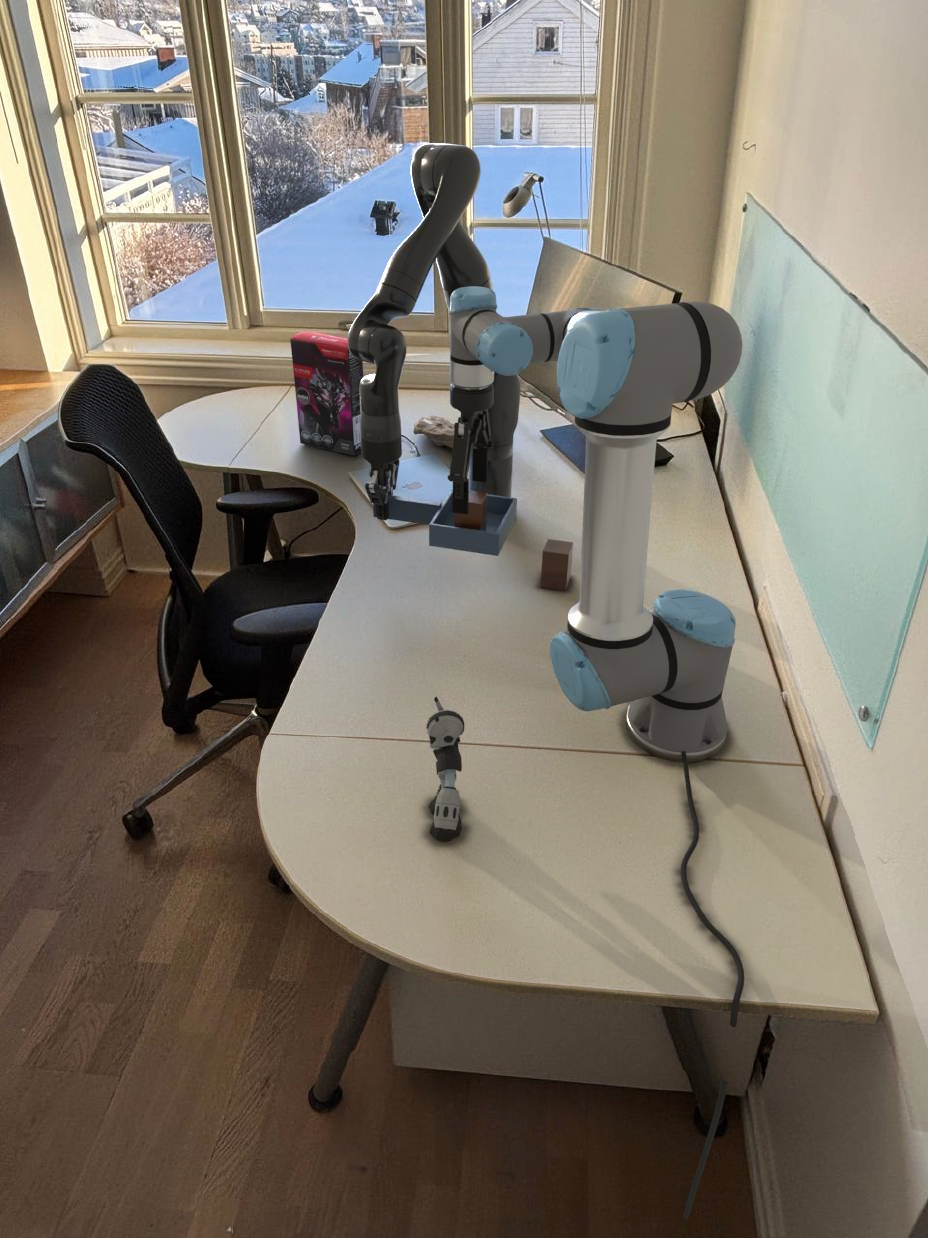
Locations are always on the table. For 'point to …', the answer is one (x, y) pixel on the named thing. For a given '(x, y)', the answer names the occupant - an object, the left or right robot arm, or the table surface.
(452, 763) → the robot
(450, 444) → the stone
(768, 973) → the table surface
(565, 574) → the walnut block
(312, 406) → the graphics card box
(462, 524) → the walnut block
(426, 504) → the tray
